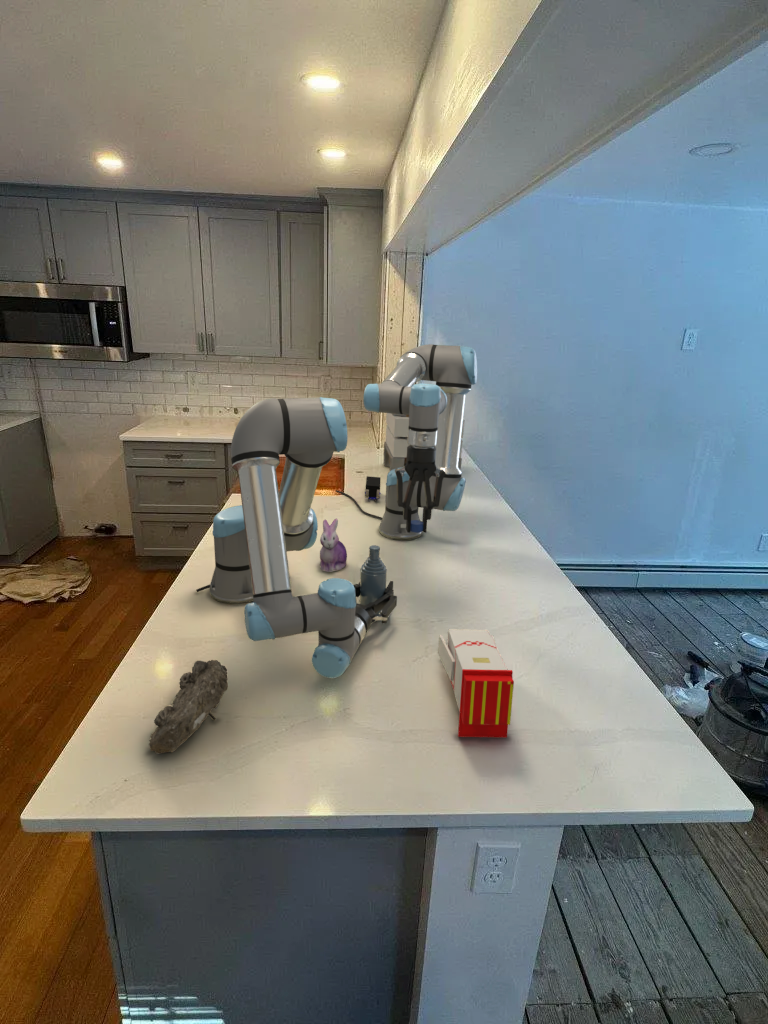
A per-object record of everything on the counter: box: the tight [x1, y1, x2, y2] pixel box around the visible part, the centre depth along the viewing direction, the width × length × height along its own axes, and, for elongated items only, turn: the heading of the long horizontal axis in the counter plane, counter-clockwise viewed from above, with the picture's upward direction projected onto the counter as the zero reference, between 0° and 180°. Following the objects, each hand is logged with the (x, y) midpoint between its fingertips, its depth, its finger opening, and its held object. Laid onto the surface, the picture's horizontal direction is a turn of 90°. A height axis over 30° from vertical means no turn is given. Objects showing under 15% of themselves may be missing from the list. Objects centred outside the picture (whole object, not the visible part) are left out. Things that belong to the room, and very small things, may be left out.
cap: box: [410, 520, 424, 533], centre depth 153 cm, size 4×4×2 cm
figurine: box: [319, 518, 348, 573], centre depth 170 cm, size 9×10×15 cm
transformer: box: [383, 413, 465, 472], centre depth 268 cm, size 34×33×41 cm
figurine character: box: [364, 475, 381, 503], centre depth 235 cm, size 7×8×15 cm
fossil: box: [148, 659, 229, 754], centre depth 106 cm, size 22×10×15 cm
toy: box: [437, 628, 515, 738], centre depth 117 cm, size 12×13×30 cm
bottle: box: [358, 544, 388, 615], centre depth 144 cm, size 7×7×19 cm
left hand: (377, 583), depth 149 cm, fingers closed on bottle, 7 cm apart
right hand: (416, 530), depth 153 cm, fingers closed on cap, 4 cm apart
